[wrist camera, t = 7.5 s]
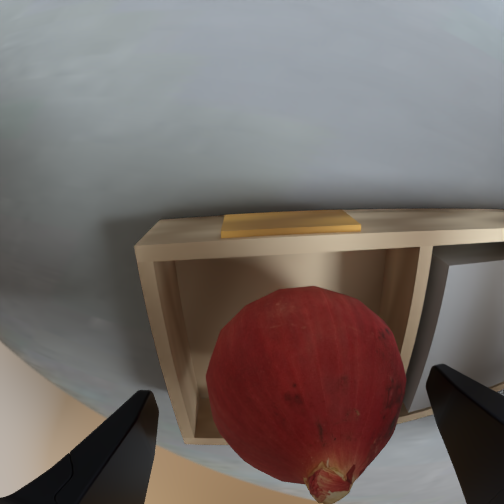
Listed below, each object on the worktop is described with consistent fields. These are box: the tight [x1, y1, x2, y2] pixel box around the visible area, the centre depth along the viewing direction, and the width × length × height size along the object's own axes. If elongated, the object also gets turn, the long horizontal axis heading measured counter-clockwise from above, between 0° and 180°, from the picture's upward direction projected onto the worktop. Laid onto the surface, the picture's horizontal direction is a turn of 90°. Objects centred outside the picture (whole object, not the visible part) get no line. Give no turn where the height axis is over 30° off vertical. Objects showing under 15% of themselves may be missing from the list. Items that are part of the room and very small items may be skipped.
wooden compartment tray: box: [134, 208, 504, 445], centre depth 11 cm, size 18×9×3 cm, turn 93°
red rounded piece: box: [206, 286, 406, 504], centre depth 9 cm, size 6×6×8 cm
